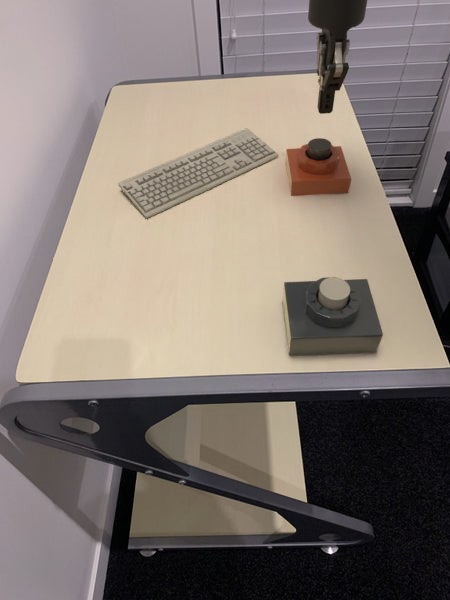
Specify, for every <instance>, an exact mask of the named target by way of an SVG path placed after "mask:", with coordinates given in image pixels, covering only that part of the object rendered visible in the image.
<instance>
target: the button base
mask: <svg viewBox="0 0 450 600" xmlns="http://www.w3.org/2000/svg"><path fill="white" fill-rule="evenodd" d="M307 148H308V143H305V144H303V145H302V146H301V147H298V148H297V147H296V148H286V149H285V169H286V175H287V181H288V186H289V193H290V196H291V197H293V196H311V195H312V196H314V195H315V196H317V195H333V194H335V195H336V194H349V191H350V187H351V183H352V177H351V174H350V171H349V170H350V169H349V166H348V163H347V161H346V158H345V155H344V152H343V148H342V146H341V145H336V146H334V145H333V144H332V147H331V154H330V157H329V159H326V160H321V161H316V160H312V159H310V158H308V157H307Z"/></svg>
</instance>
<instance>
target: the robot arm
mask: <svg viewBox="0 0 450 600" xmlns="http://www.w3.org/2000/svg"><path fill="white" fill-rule="evenodd" d="M308 1H309V2H308V14H307V19H308V22H309V24H310V25H311V26H313V27H314V28H317V29H320V30H321V32H318V33H317V35H316V48H317V49H316V52H317V53H316V54H317V56H316V66H317V69H316V74H317V76H318V79H317V83H318V86H319V88H318V98H317V107H316V108H317V110H318V113H319V114H320V115H323V114H324V115H325V114H331V113H333V111H334V103H335V95H336V92H337V91H339V92H340V91H341V88H342V86H343V84H344V82H345V79H346V77H347V74H348V72H349V69H350V66H349V62H346V58H347V55H348V54H349V51H350V46H351V45H350V44H351V42H350V39H349V38H348V32H349V30H351V29H353V28H356V27H358V26H359V25H361V24H362V23H363V22H364V20H365V18H366V11H367V5H368V0H308Z"/></svg>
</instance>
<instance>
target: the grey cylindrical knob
mask: <svg viewBox="0 0 450 600" xmlns="http://www.w3.org/2000/svg"><path fill="white" fill-rule="evenodd" d="M330 277H331V278H327V277H326V278H327V279H325V280H323V281H322V282H321V284H320V288H319V293H318V301H319V303H320V304H321V305H322V306H323V307H324V308H326V309H329V310H340V309H342V308H344V307H345V306H346V304H347V302H348V298H349V294H350V286H349V285H348V283H347V282H346V281H344V280H345V279H343V278H340V277H337V278H336V276H330Z"/></svg>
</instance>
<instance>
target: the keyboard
mask: <svg viewBox="0 0 450 600" xmlns="http://www.w3.org/2000/svg"><path fill="white" fill-rule="evenodd" d="M278 157H279V153H278V152H277V151H276V150H274V149H273V148H272V147H271V146H269V145H268V144H267V143H266V142H265V141H264V140H262V139H261V138H260V137H259V136H258V135H256V134H255V133H254V132H253V131H252V130H251V129H249V128H248V127H245V128H243V129H240V130H239V131H236V132H234V133H231V134H229V135H227V136H224V137H222V138H219V139H217V140H215V141H212V142H211V143H208V144H205V145H203V146H201V147H199V148H196V149H194V150H192V151H188V152H186V153H184V154H182V155H180V156H177V157H174V158H173V159H171V160H169V161H165V162H164V163H161V164H159V165H157V166H154V167H151V168H149V169H146V170H144V171H143V172H139V173H137V174H135V175H133V176H131V177H128V178H126V179H124V180H122V181H119V182H118V183H117V184H118V187H119V188H120V189H121V191H122V192H123V193H124V194H125V195H126V196H127V197H128V199H129V200H130V201H131V202H132V203H133V204H134V206H135V207H136V208H137V210H139V212H140V213H141V214H142V215H143V216H144V218H146V219H149V218H152V217H153V216H155V215H157V214H160V213H162V212H165V211H166V210H169V209H171V208H172V207H175V206H177V205H179V204H181V203H183V202H185V201H188V200H189V199H192V198H194V197H196V196H198V195H200V194H203V193H205V192H207V191H209V190H212V189H213V188H215V187H217V186H220V185H222V184H224V183H226V182H228V181H230V180H233V179H234V178H237V177H238V176H241V175H243V174H245V173H248V171H249V172H250V171H251V170H254V169H255V168H258V167H260V166H262V165H264V164H266V163H269V162H270V161H272V160H275V159H276V158H278Z"/></svg>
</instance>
